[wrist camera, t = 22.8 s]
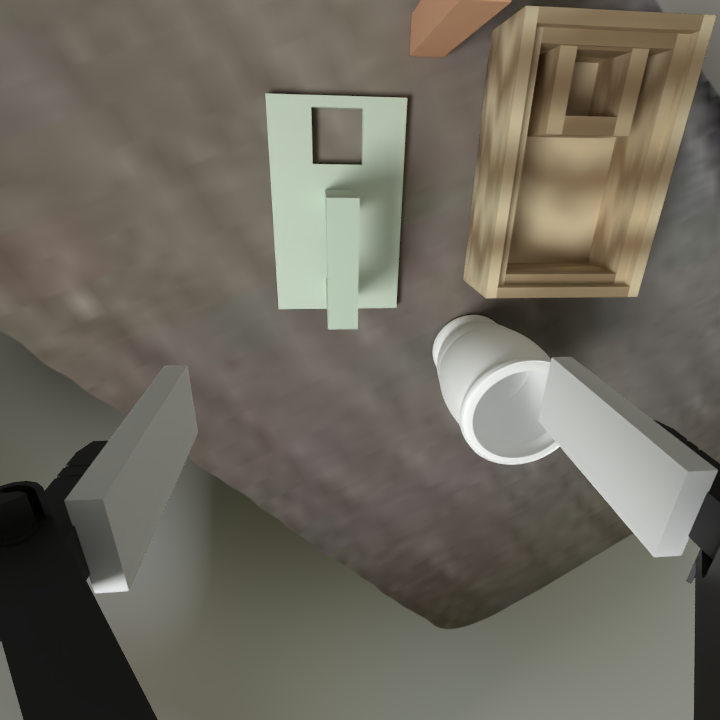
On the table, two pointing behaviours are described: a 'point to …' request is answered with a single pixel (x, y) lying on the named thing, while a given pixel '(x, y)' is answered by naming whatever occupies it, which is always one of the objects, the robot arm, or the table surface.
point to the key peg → (448, 23)
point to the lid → (336, 208)
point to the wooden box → (578, 148)
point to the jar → (494, 388)
